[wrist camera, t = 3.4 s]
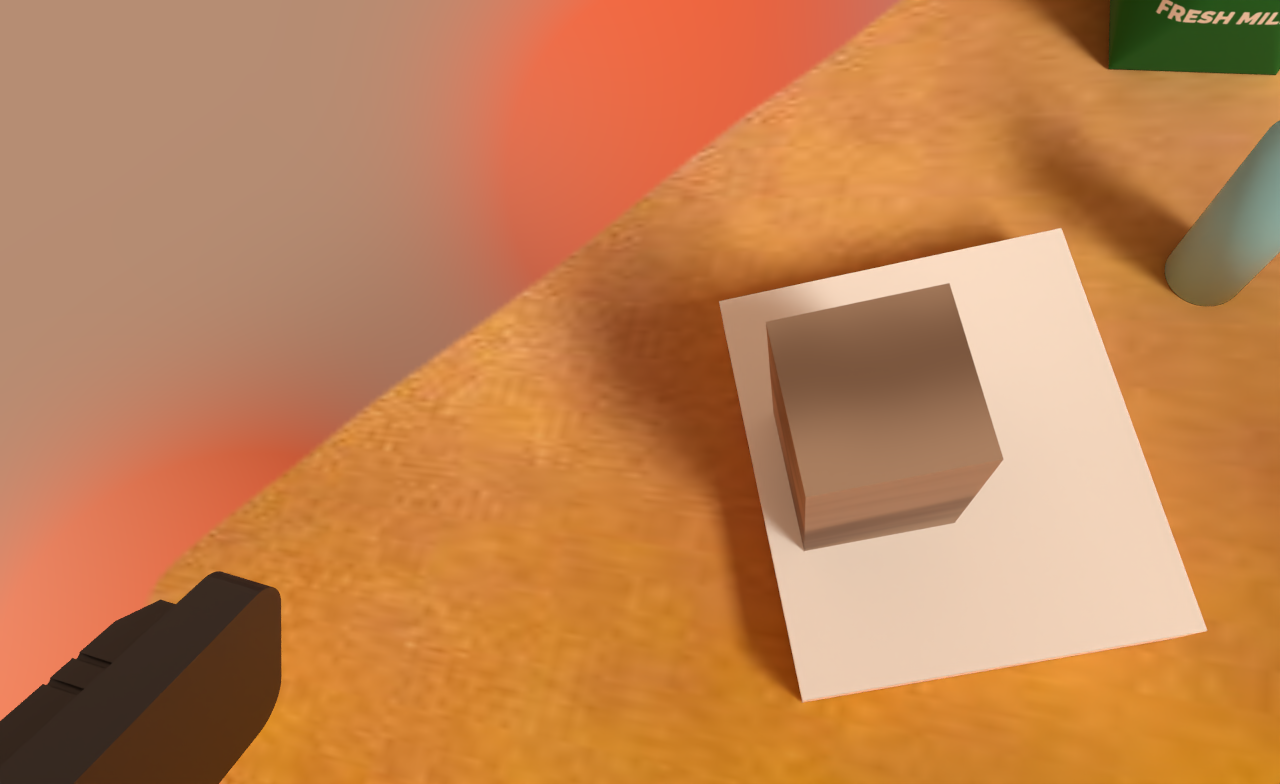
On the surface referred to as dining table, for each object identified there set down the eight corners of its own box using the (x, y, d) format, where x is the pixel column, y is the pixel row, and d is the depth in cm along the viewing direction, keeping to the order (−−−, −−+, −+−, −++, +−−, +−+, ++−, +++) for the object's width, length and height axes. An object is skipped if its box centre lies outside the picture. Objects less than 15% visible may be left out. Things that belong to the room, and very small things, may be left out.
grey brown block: (954, 522, 35) (1003, 459, 27) (803, 551, 35) (805, 497, 27) (915, 383, 37) (949, 283, 29) (773, 411, 37) (765, 321, 29)
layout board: (1174, 638, 35) (1207, 630, 32) (802, 702, 37) (802, 700, 34) (1043, 261, 41) (1061, 228, 38) (724, 329, 42) (718, 301, 39)
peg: (1254, 297, 39) (1379, 181, 31) (1179, 313, 39) (1282, 201, 31) (1227, 234, 40) (1340, 104, 32) (1154, 249, 40) (1247, 125, 32)
